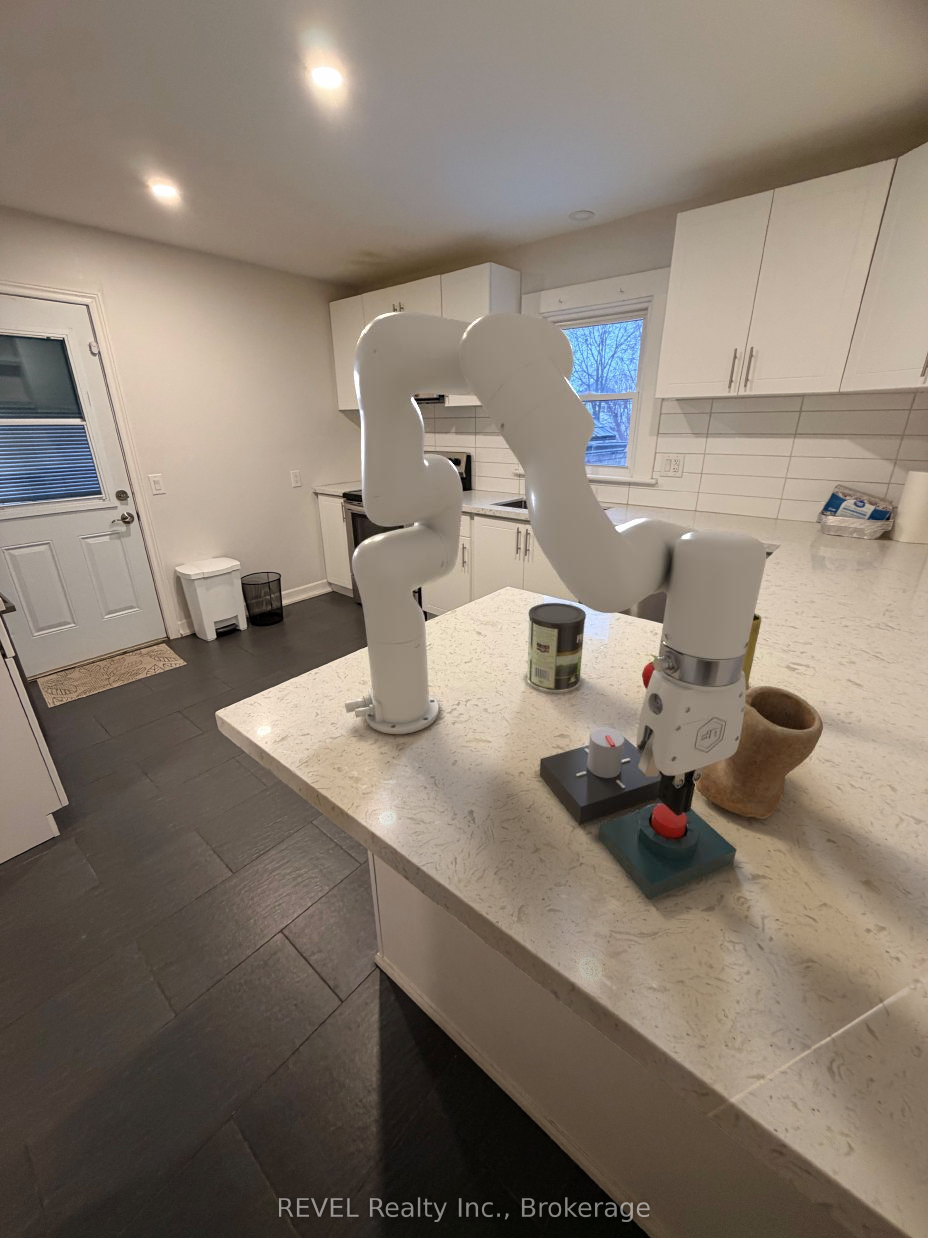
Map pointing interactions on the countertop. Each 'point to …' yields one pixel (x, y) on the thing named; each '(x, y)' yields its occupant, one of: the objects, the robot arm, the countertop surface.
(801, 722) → the stone cup
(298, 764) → the countertop surface
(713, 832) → the button block
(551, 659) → the coffee can
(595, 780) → the hob panel
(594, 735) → the hob knob
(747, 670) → the vase
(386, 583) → the robot arm
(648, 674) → the strawberry
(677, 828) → the button
